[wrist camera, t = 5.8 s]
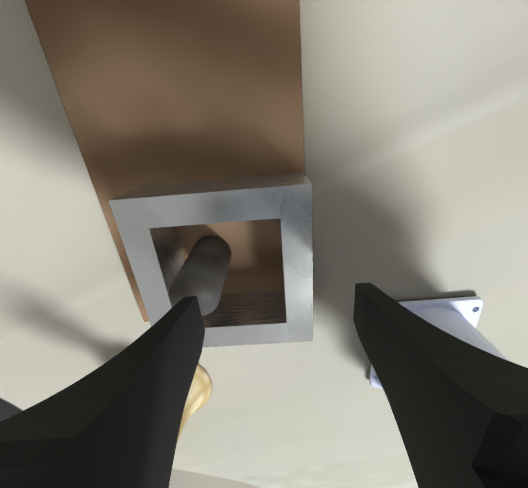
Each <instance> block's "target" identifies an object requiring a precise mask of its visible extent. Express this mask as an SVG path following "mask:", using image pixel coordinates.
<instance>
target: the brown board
mask: <svg viewBox="0 0 528 488" xmlns="http://www.w3.org/2000/svg"><path fill="white" fill-rule="evenodd" d="M25 3H26V5H27V8H28V11H29V13H30V16H31V19H32V21H33V24H34V27H35V29H36V32H37V35H38V37H39V40H40V43H41V46H42V48H43V51H44V54H45V56H46V59H47V62H48V64H49V67H50V70H51V72H52V75H53V78H54V81H55V83H56V86H57V89H58V91H59V94H60V97H61V99H62V102H63V105H64V107H65V110H66V113H67V115H68V118H69V121H70V124H71V126H72V129H73V132H74V134H75V137H76V140H77V142H78V145H79V148H80V150H81V153H82V156H83V159H84V161H85V164H86V167H87V169H88V172H89V175H90V177H91V180H92V183H93V185H94V188H95V191H96V194H97V196H98V199H99V202H100V204H101V207H102V210H103V212H104V215H105V218H106V220H107V223H108V226H109V228H110V231H111V234H112V237H113V239H114V242H115V245H116V247H117V250H118V253H119V255H120V258H121V261H122V263H123V266H124V269H125V272H126V274H127V277H128V280H129V282H130V285H131V288H132V290H133V293H134V296H135V298H136V301H137V304H138V306H139V309H140V312H141V315H142V317H143V320H144V322H147V321H150V320H149V317H148V315H147V312H146V309H145V306H144V303H143V300H142V297H141V294H140V291H139V288H138V285H137V282H136V280H135V277H134V274H133V271H132V268H131V265H130V262H129V259H128V256H127V253H126V250H125V247H124V244H123V242H122V239H121V236H120V233H119V230H118V227H117V224H116V221H115V218H114V215H113V212H112V209H111V207H110V204H109V200H111V199H113V198H115V197H117V196H119V195H121V194H124V193H126V192H128V191H130V190H132V189H134V188H136V187H138V186H143V185H154V184H166V183H178V182H190V181H202V180H213V179H225V178H237V177H249V176H261V175H272V174H284V173H296V172H303V173H304V174H305V164H304V133H303V101H302V69H301V37H300V5H299V0H25ZM176 229H177V233H178V237H179V241H180V245H181V250H182V254H183V258H184V264H183V265H182V267H181V269H180V270H179V272H178V274H177V275H176V277H175V279H174V280H173V282H172V284H171V285H170V288H169V298H170V301H171V303H172V304H173V306H174V305H175V304H176V303H177V302H179V301H180V300H181V299H182V298H183V297H189V296H197V299H198V303H199V307H200V311H201V315H202V316H204V315H207V314H209V313H211V312H213V311H214V310H215V309H216V307H217V306H218V303H219V300H220V296H221V294H231V293H246V292H261V291H277V290H283V277H282V261H281V245H280V229H279V218H276V219H263V220H250V221H237V222H224V223H211V224H198V225H185V226H176Z"/></svg>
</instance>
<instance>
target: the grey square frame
mask: <svg viewBox="0 0 528 488" xmlns="http://www.w3.org/2000/svg"><path fill="white" fill-rule="evenodd" d="M109 204H110V207H111V209H112V212H113V215H114V218H115V221H116V224H117V227H118V230H119V233H120V236H121V239H122V242H123V244H124V247H125V250H126V253H127V256H128V259H129V262H130V265H131V268H132V271H133V274H134V277H135V280H136V282H137V285H138V288H139V291H140V294H141V297H142V300H143V303H144V306H145V309H146V312H147V315H148V317H149V320H150V323H151V326H153V325H154V324H155V323H156V322H157V321H158V320H159V319H161V318H162V317H163V316H164V315H165V314H166V313H167V312H168V311H169V310H170V309H171V308H172V307H173V304H172V303H171V301H170V298H169V288H170V285H171V284H172V282H173V280H174V279H175V277H176V275H177V274H178V272H179V270H180V269H181V267H182V265H183V264H184V258H183V254H182V250H181V245H180V241H179V237H178V233H177V229H176V226H185V225H198V224H211V223H224V222H237V221H250V220H263V219H276V218H279V229H280V245H281V261H282V277H283V290H277V291H261V292H246V293H231V294H221V296H220V300H219V303H218V306H217V307H216V309H215V310H214V311H213V312H211V313H209V314H207V315H204V316H202V319H203V323H204V327H205V335H204V342H203V347H217V346H235V345H253V344H270V343H288V342H305V341H313V253H312V183H311V182H310V181H309V179H308V178H307V177H306V176H305V174H304V173H303V172H296V173H284V174H272V175H261V176H249V177H237V178H225V179H213V180H202V181H190V182H178V183H166V184H154V185H143V186H138V187H136V188H134V189H132V190H130V191H128V192H126V193H124V194H121V195H119V196H117V197H115V198H113V199H111V200H109Z"/></svg>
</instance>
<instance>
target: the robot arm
mask: <svg viewBox="0 0 528 488" xmlns="http://www.w3.org/2000/svg"><path fill="white" fill-rule="evenodd" d="M483 304H484V301H483V300H482V299H481V298H480V297H478V296H473V297H459V298H445V299H432V300H418V301H404V302H397V301H395V300H394V299H392V298H391V297H389V296H388V295H387V294H385V293H384V292H382V291H381V290H380V289H378V288H377V287H375V286H374V285H372V284H371V283H358V284H356V285H355V302H354V319H353V320H354V323H355V326H356V329H357V332H358V335H359V338H360V341H361V343H362V345H363V347H364V350H365V352H366V354H367V356H368V358H369V360H370V362H371V370H370V380H369V382H370V385H371V386H372V387H374V388H380V387H382V388H383V390H384V392H385V395H386V397H387V399H388V401H389V404H390V406H391V409H392V412H393V414H394V417H395V420H396V422H397V425H398V428H399V431H400V434H401V436H402V439H403V442H404V445H405V448H406V451H407V454H408V456H409V460H410V463H411V466H412V469H413V472H414V475H415V478H416V481H417V484H418V487H419V488H528V368H526V367H523V366H520V365H518V364H515V363H512V362H510V361H509V360H508V359H507V358H506V357H505V356H504V355H503V354H502V353H501V352H500V351H499V350H498V349H497V348H496V347H495V346H494V345H492V344H491V343H490V342H489V341H488V340H487V339H486V338H485V337H484V336H483V335H482V334H481V333H480V332H479V331H478V330H477V329H476V326H477V323H478V319H479V316H480V313H481V310H482V307H483ZM474 307H475V308H474ZM204 335H205V327H204V323H203V319H202V315H201V311H200V307H199V303H198V299H197V296H189V297H183V298H182V299H181V300H180V301H179V302H177V303H176V304H175V305H174V306H173V307H172V308H171V309H170V310H169V311H168V312H167V313H166V314H165V315H164V316H163V317H162V318H161V319H159V320H158V321H157V322H156V323H155V324H154V325H153V326H152V327H151V328H150V329H148V330H147V331H146V332H145V333H144V334H143V335H141V336H140V337H139V338H138V339H137V340H136V341H134V342H133V343H132V344H131V345H129V346H128V347H127V348H126V349H124V350H123V351H122V352H120V353H119V354H118V355H116V356H115V357H113V358H112V359H111V360H109V361H108V362H106V363H105V364H104V365H102V366H100V367H99V368H97V369H96V370H94V371H93V372H91V373H90V374H88V375H87V376H85V377H83V378H82V379H80V380H79V381H77V382H75V383H74V384H72V385H70V386H69V387H67V388H65V389H64V390H62V391H60V392H58V393H56V394H55V395H53V396H51V397H49V398H47V399H45V400H44V401H42V402H40V403H38V404H36V405H34V406H32V407H30V408H28V409H26V410H24V411H22V412H20V413H18V414H16V415H14V416H12V417H10V418H8V419H6V420H4V421H2V422H0V488H168V487H169V481H170V476H171V470H172V464H173V459H174V454H175V449H176V444H177V438H178V434H179V429H180V424H181V420H182V415H183V411H184V407H185V403H186V400H187V397H188V393H189V390H190V387H191V384H192V381H193V378H194V374H195V371H196V368H197V365H198V362H199V358H200V355H201V352H202V347H203V342H204Z"/></svg>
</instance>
